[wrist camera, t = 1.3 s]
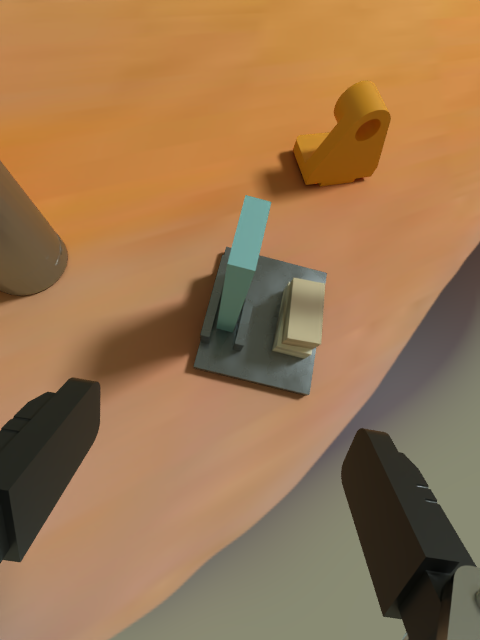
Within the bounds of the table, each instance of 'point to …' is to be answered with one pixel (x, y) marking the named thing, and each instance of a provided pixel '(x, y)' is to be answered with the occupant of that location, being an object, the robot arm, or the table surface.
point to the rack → (256, 331)
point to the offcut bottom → (277, 344)
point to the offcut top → (303, 313)
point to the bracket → (346, 139)
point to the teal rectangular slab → (242, 260)
